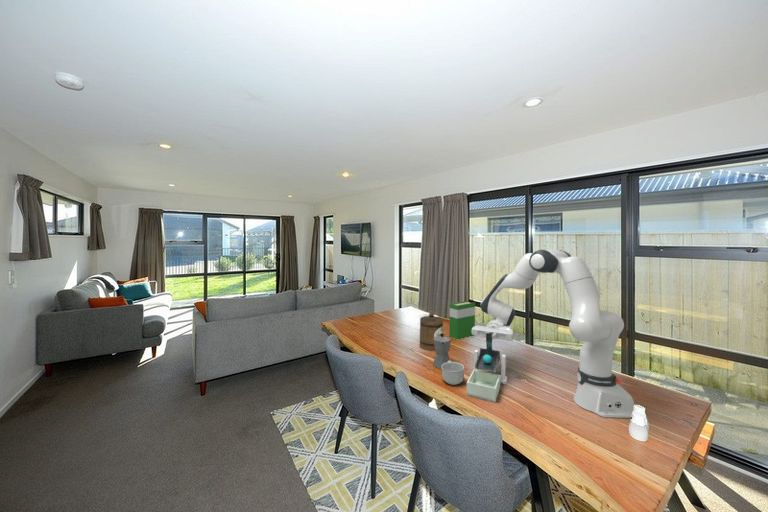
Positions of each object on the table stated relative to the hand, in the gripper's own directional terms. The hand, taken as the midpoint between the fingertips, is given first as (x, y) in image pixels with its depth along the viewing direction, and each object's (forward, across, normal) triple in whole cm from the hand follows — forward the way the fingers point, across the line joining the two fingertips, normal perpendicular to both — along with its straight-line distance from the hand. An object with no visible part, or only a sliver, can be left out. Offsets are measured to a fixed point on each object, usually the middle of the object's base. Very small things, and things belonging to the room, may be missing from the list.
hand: (489, 337), depth 145 cm
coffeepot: (-4, -26, +21) cm, 34 cm away
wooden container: (-28, -41, +21) cm, 54 cm away
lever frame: (-1, 0, +21) cm, 21 cm away
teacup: (+10, -16, +21) cm, 28 cm away
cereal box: (-58, -28, +21) cm, 68 cm away
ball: (+6, 0, +9) cm, 11 cm away
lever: (+1, 0, +15) cm, 15 cm away
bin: (+14, 0, +21) cm, 25 cm away
